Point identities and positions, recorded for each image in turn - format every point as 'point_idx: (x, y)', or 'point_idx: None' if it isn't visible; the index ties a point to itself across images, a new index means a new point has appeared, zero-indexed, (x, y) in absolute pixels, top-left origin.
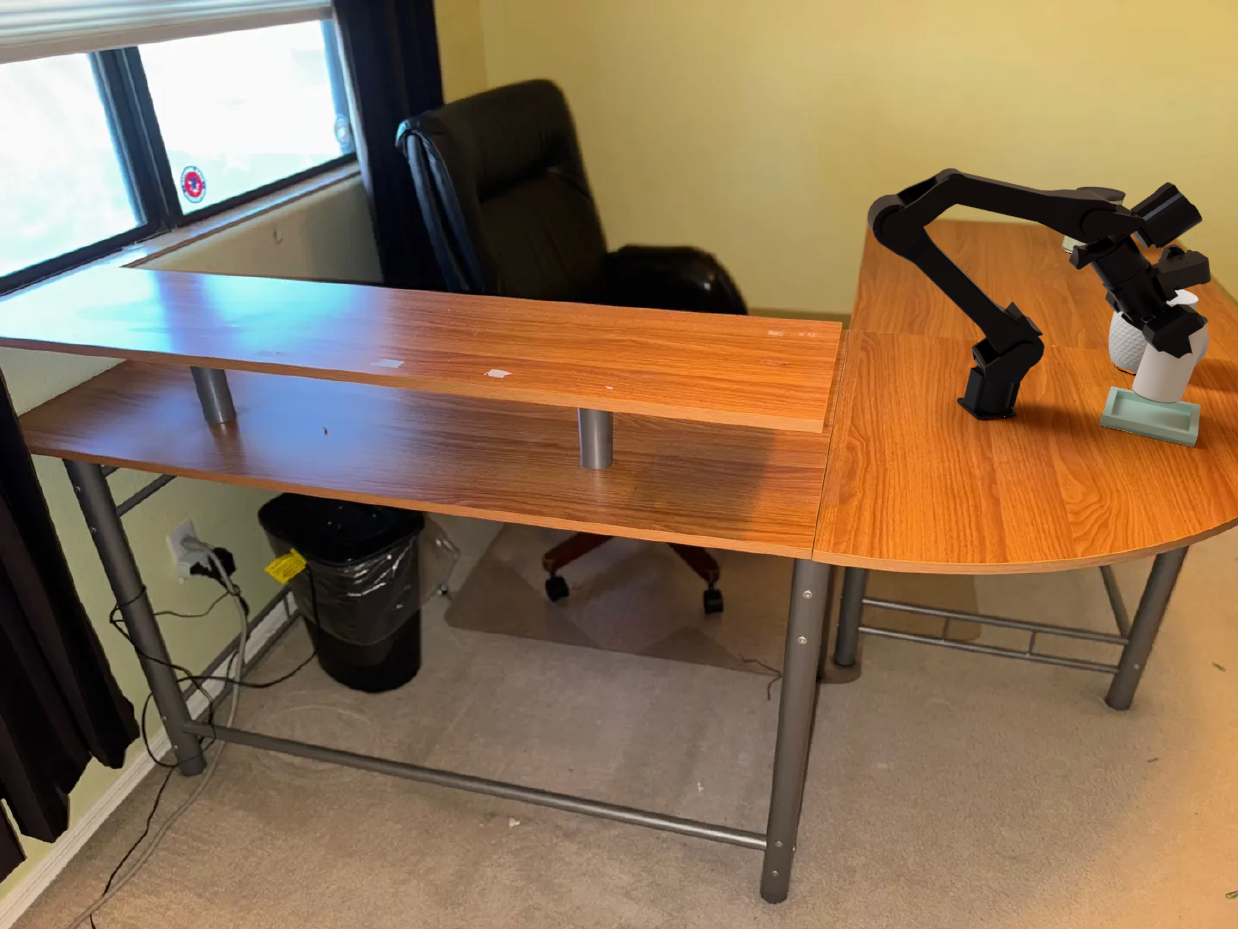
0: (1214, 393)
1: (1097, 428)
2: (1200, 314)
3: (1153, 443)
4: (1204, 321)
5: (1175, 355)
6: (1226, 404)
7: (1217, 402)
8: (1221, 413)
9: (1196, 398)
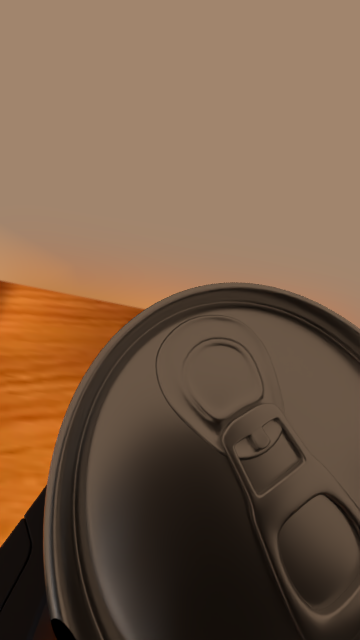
0: (17, 301)
1: None
2: (146, 309)
3: None
4: (242, 308)
5: None
6: (61, 295)
7: (56, 304)
8: (100, 308)
9: (44, 331)
